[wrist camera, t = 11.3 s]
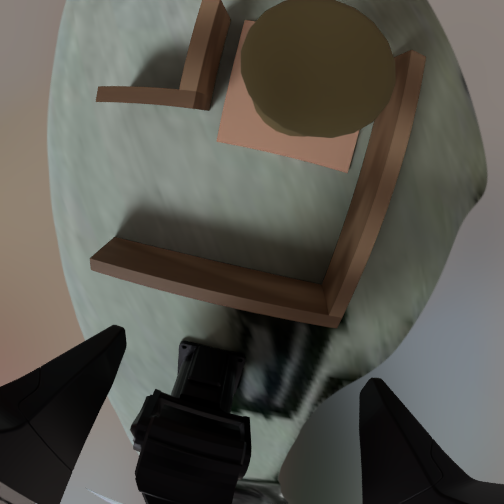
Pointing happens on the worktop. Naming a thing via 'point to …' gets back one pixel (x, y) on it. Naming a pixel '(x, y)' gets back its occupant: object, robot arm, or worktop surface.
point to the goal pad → (266, 138)
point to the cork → (317, 68)
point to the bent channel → (248, 280)
